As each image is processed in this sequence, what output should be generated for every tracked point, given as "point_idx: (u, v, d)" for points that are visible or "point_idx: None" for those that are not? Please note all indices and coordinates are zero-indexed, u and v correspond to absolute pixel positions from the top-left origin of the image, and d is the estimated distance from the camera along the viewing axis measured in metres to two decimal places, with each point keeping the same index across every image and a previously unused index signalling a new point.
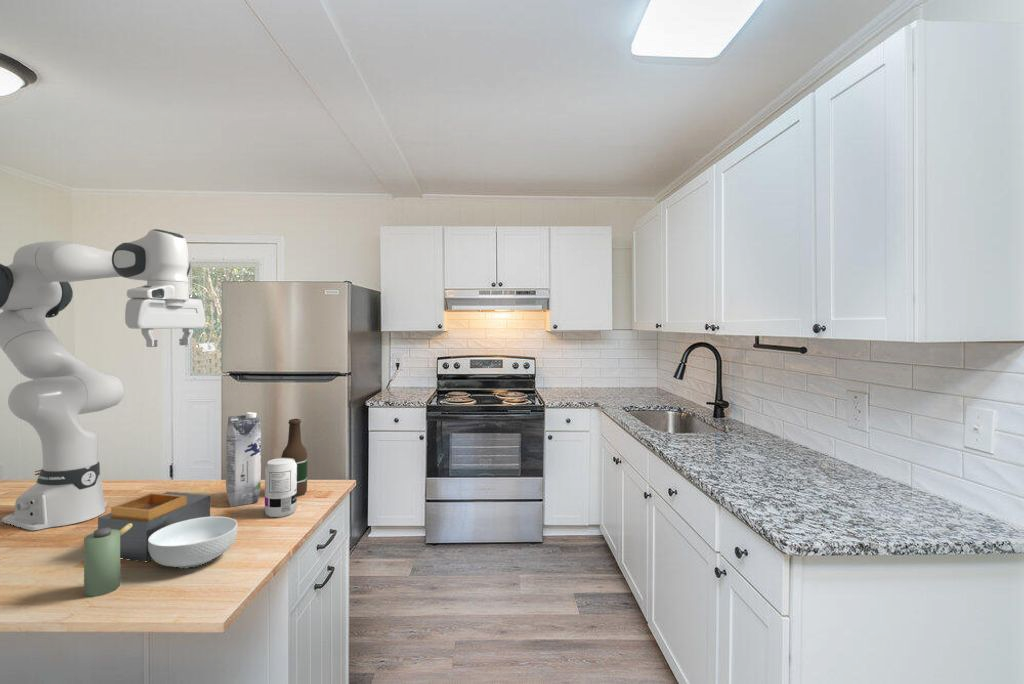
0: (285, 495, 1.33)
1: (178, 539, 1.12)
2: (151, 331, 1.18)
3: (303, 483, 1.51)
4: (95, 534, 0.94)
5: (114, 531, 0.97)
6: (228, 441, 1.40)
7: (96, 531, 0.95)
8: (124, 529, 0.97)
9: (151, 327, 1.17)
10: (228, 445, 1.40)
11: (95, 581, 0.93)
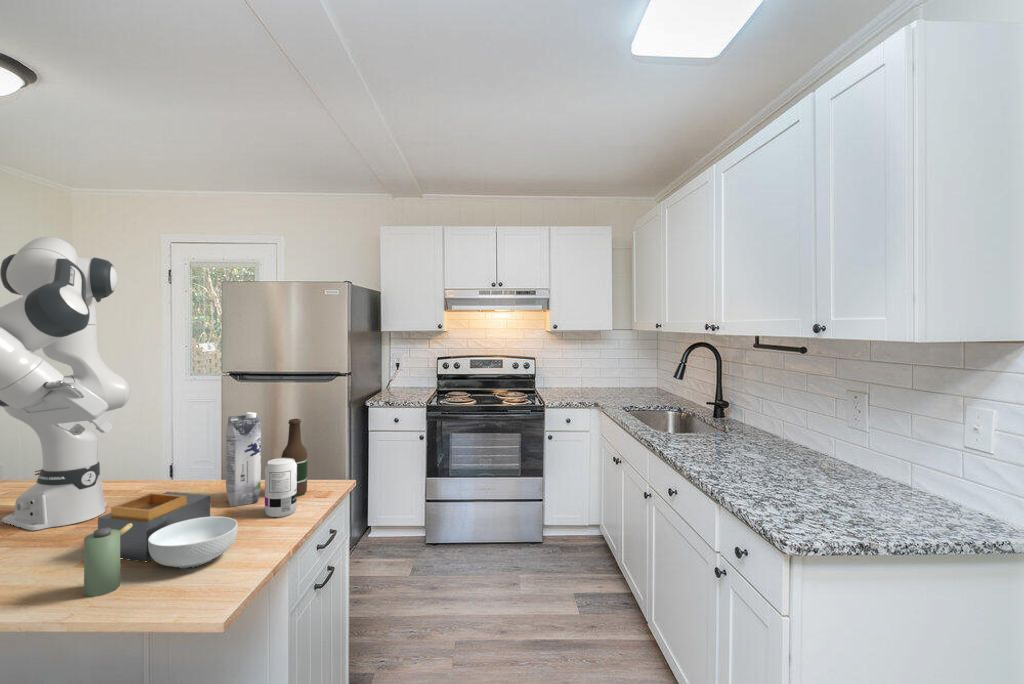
0: (285, 495, 1.33)
1: (178, 539, 1.12)
2: (56, 425, 0.97)
3: (303, 483, 1.51)
4: (95, 534, 0.94)
5: (114, 531, 0.97)
6: (228, 441, 1.39)
7: (96, 531, 0.95)
8: (124, 529, 0.97)
9: (47, 424, 0.96)
10: (228, 445, 1.39)
11: (95, 581, 0.93)
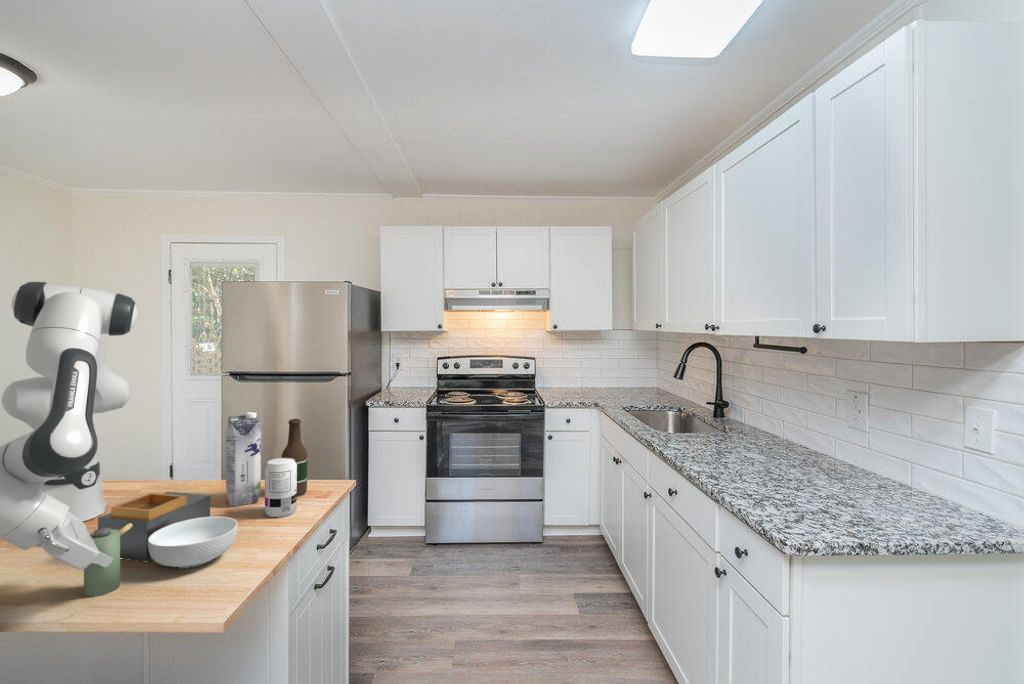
0: (285, 495, 1.33)
1: (178, 539, 1.12)
2: None
3: (303, 483, 1.51)
4: (95, 534, 0.94)
5: (114, 531, 0.97)
6: (228, 441, 1.39)
7: (96, 531, 0.95)
8: (124, 529, 0.97)
9: None
10: (228, 445, 1.39)
11: (95, 581, 0.93)
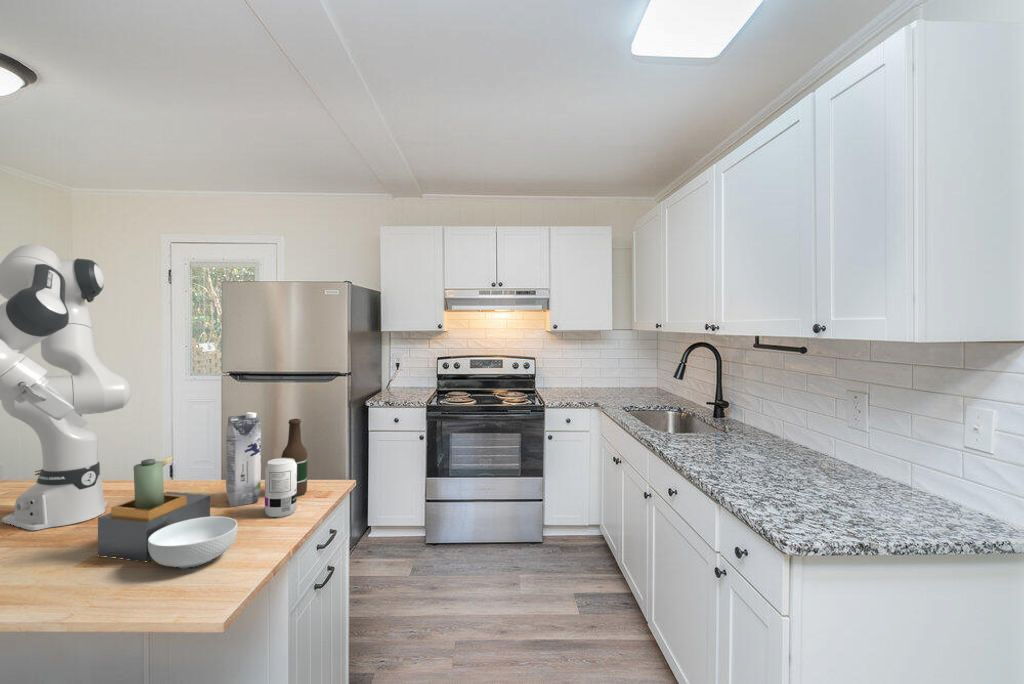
0: (285, 495, 1.33)
1: (178, 539, 1.12)
2: None
3: (303, 483, 1.51)
4: (142, 463, 1.12)
5: (158, 462, 1.15)
6: (228, 441, 1.39)
7: (143, 461, 1.12)
8: (165, 460, 1.15)
9: None
10: (228, 445, 1.39)
11: (144, 502, 1.10)
